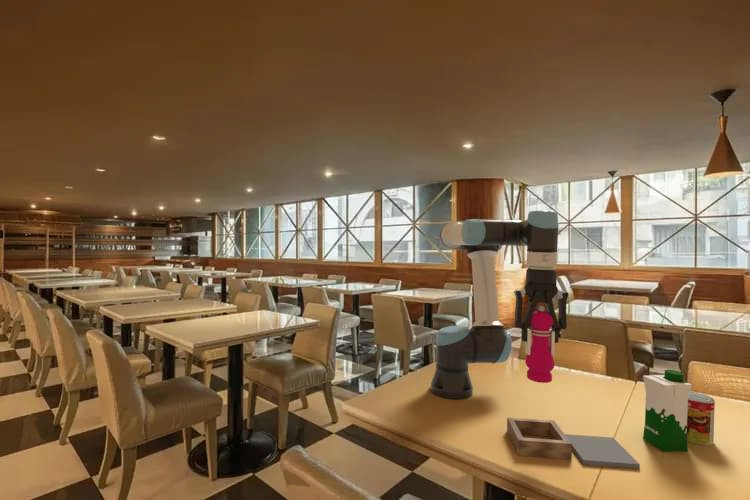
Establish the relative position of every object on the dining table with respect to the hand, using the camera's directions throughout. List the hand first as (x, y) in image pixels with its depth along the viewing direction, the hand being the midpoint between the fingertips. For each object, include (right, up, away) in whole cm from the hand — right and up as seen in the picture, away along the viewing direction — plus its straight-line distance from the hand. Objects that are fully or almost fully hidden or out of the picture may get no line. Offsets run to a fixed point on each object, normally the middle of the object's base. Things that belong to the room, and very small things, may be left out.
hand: (539, 353), depth 104 cm
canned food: (+46, -26, +5) cm, 53 cm away
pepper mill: (0, -7, 0) cm, 7 cm away
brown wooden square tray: (0, -25, 0) cm, 25 cm away
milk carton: (+35, -26, +1) cm, 43 cm away
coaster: (+14, -25, -3) cm, 29 cm away
